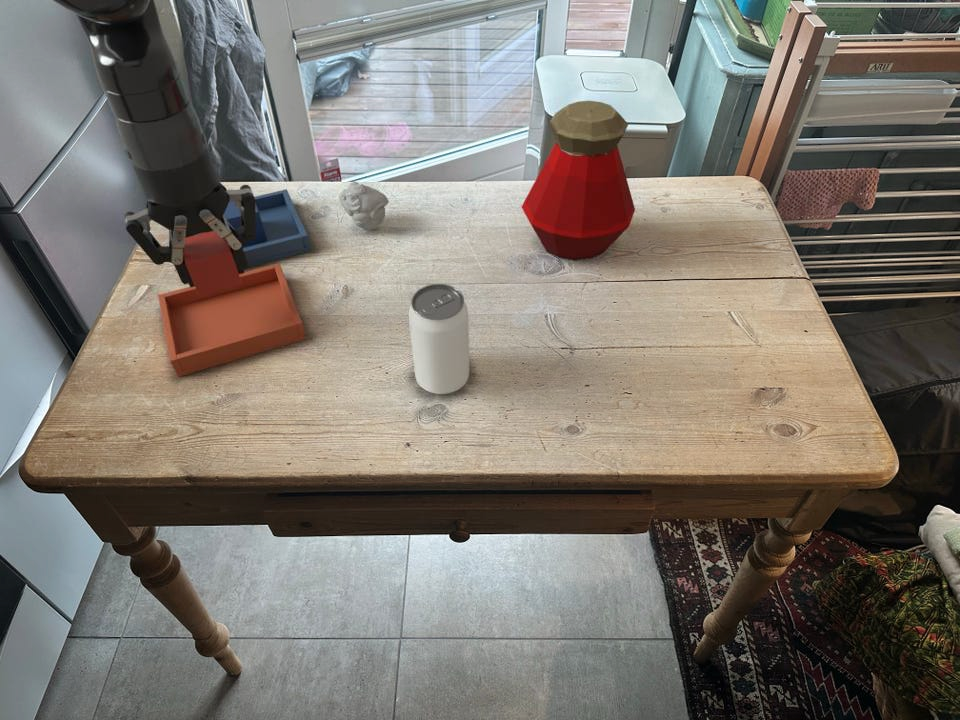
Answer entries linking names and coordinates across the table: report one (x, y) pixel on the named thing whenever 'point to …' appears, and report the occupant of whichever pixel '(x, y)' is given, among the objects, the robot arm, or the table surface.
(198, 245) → the red block
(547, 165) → the bottle
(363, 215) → the frog figurine
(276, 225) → the blue tray
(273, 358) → the table surface
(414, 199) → the table surface
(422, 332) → the can
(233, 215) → the blue block
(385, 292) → the table surface
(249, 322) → the orange tray
